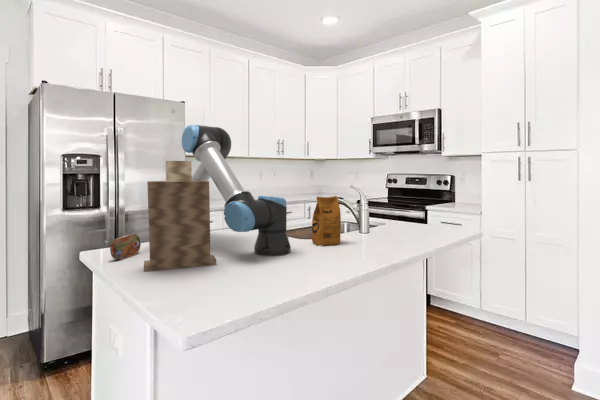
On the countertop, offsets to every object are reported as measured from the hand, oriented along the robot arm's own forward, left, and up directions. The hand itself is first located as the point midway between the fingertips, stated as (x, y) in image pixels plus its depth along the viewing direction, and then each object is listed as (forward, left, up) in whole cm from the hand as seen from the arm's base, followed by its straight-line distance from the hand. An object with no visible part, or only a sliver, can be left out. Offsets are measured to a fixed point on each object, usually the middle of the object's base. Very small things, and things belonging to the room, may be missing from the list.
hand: (174, 183), depth 149 cm
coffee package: (-65, +7, -28) cm, 71 cm away
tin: (+19, +2, -28) cm, 34 cm away
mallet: (0, +18, +2) cm, 18 cm away
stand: (0, +23, -28) cm, 36 cm away
